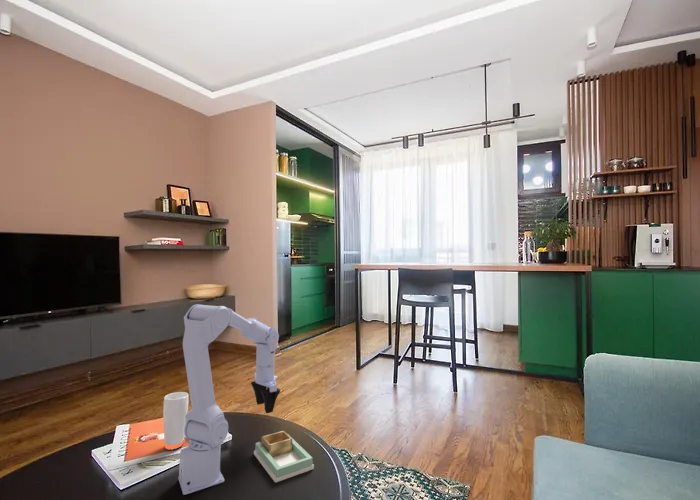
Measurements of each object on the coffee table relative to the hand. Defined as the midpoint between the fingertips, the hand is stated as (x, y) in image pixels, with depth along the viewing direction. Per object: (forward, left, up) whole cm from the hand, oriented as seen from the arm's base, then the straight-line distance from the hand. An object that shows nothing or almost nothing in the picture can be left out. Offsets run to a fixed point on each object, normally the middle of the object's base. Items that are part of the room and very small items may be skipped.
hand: (264, 407), depth 108 cm
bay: (0, -15, -10) cm, 18 cm away
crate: (0, -10, -9) cm, 13 cm away
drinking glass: (-24, +10, -10) cm, 28 cm away
